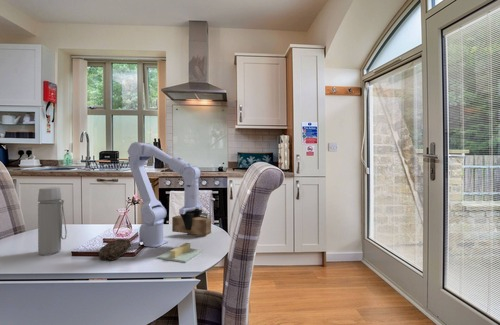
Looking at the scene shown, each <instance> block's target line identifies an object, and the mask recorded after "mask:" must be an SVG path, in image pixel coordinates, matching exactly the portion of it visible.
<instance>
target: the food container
mask: <svg viewBox="0 0 500 325" xmlns="http://www.w3.org/2000/svg"><path fill="white" fill-rule="evenodd" d="M200 217H201V218H210V216H209V214H208V213H206V212H202V213H201V215H200ZM186 234H187V235H186V236H192V237H193V236H194V237H206V236H207V235H197V234H189V233H186Z"/></svg>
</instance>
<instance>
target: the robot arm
mask: <svg viewBox="0 0 500 325" xmlns="http://www.w3.org/2000/svg"><path fill="white" fill-rule="evenodd" d="M127 154H128V156H129V158H128V159H129V165H128V166H129V168H130V171H131V173H132V177H133V179H134V182H135V185H136V187H137V190H138V192H139V195H140V198H141V201H142V203H143V204H142V206H141V208H140V212H141V220H142V222H143V223H142V224H140V227H139V231H138V232H139V233H138V234H139V235H138V236H139V237H138V240H139V241H138V242H143V243H145V244H144V246H145V247H150V248H158V247H160V246H162V245H164V244H167V243H168V240H164V222H165V218H166V217H167V209H166V208H165V206H164V205H163V204H162V202H161V201H160V200H158V199H157V197H156V194H155V192H154V190H153V186H152V184H151V182H150V179H149V178H150V177H148V176H149V175H148V174H147V170H146V169H145V165H146V163H147V162H148V161H149V160H150V159H151V158H152V157H154V158H155V159H158V160H159V161H161V162H163V163H165V164H166V165H168V168H169V169H170V170H171V171H173V172H174V173H175V174H178V175H179V176H181V177H182V179H183V181H184V184H183V186H184V190H183V191H184V192H183V193H184V201H183V202H184V205H183V206H182V207H181V208H179V209H178V211H179V212H178V214H179V216H181V217H182V219H183V221H184V225H185V228H186V230H191V227H192V219H193V217H200V215H201V213H203V203H199V197H200V196H199V187H200V186H199V184H200V183H199V179H200V177H201V173H202V172H201V169H200V168H199V167H198V166H197V165H194V166H193V165H192V163H190V162H186V161H185V160H183V157H181V156H175V157H174V156H173V157H172V156H171V155H170V154H167V153H166V152H164V150H162V149H160V148H159V147H157V146H156V145H153V144H151V143H150V142H149V143H146V142H138V141H134V142H132V143H130V145H129V147H128V149H127ZM144 246H143V247H144Z"/></svg>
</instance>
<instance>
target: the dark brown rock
mask: <svg viewBox="0 0 500 325" xmlns="http://www.w3.org/2000/svg"><path fill="white" fill-rule="evenodd" d="M131 246H132V243H131V241H130V240H129V239H125V238H124V239H123V238H122V239H121V238H120V239H116V240H115V241H109V242H107V244H105V245H104V246H101V247H100V249H99V250H98V257H99V260H100V261H108V262H110V261H115V260H116V259H118V258H120V257H122V256H124V255H126V254H125V252H126V253H127V252H128V250H129V249H130V247H131Z"/></svg>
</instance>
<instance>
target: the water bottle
mask: <svg viewBox="0 0 500 325" xmlns="http://www.w3.org/2000/svg"><path fill="white" fill-rule="evenodd" d="M37 202H38V204H37V230H38V232H37V234H38V235H37V241H38V242H37V245H38V246H37V247H38V248H37V250H38V251H37V253H38V254H39V255H41V256H51V255H56V254H57V253H59V252H60V251H61V250H62V240H66V238H67V233H68V232H67V225H66V217H65V209H64V202H65V200H64V199H62V192H61V187H59V186H58V187H52V186H51V187H41V188H39V189H38V197H37ZM63 223H64V224H63ZM63 225H64V230H65V231H64V232H65V235H64V238H63Z"/></svg>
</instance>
